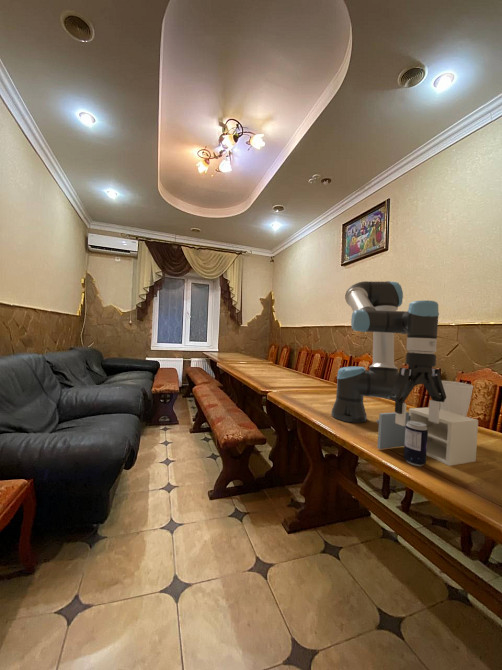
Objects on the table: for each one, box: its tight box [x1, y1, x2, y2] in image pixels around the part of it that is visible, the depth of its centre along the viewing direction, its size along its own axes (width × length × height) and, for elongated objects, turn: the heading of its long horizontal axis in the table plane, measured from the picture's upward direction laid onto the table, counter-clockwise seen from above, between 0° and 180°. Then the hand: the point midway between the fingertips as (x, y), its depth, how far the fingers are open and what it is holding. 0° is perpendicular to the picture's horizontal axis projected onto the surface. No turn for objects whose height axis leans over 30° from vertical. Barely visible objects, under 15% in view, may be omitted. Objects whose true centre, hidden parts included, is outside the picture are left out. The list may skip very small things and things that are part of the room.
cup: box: [439, 380, 474, 417], centre depth 97 cm, size 12×12×22 cm
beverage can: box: [403, 420, 428, 467], centre depth 77 cm, size 6×6×12 cm
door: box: [375, 411, 411, 450], centre depth 87 cm, size 2×13×12 cm, turn 109°
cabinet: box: [408, 406, 479, 467], centre depth 85 cm, size 14×12×13 cm
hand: (417, 423), depth 77 cm, fingers open, 13 cm apart
